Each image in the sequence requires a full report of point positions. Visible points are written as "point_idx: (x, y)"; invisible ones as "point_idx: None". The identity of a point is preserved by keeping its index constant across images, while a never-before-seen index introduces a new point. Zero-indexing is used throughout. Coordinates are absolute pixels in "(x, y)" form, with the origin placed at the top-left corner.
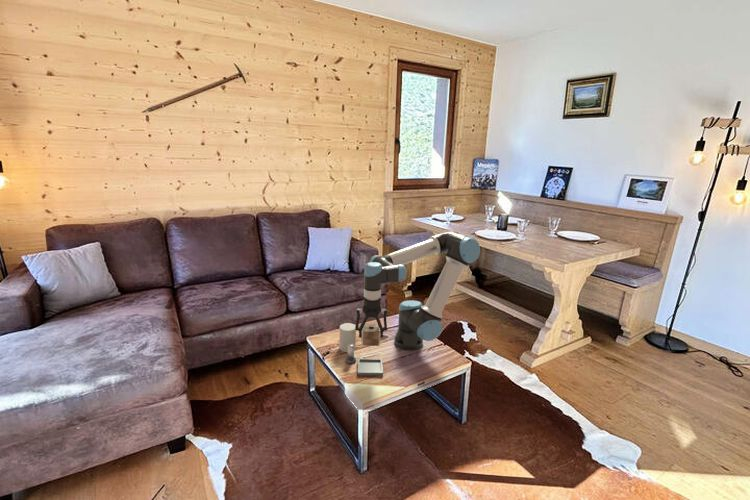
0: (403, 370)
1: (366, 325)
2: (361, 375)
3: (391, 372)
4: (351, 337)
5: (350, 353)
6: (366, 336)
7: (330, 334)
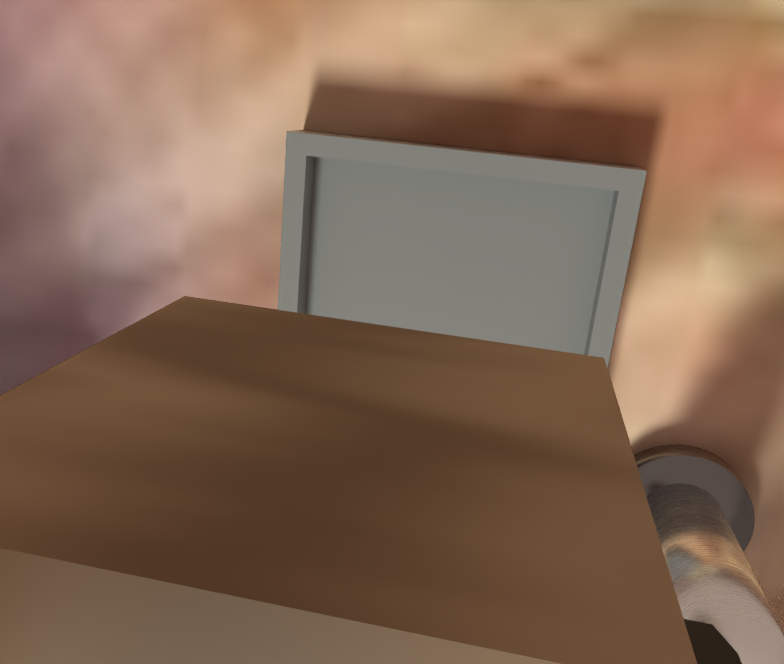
0: (51, 227)
1: None
2: (586, 161)
3: (191, 201)
4: None
5: (720, 549)
6: (503, 481)
7: None
